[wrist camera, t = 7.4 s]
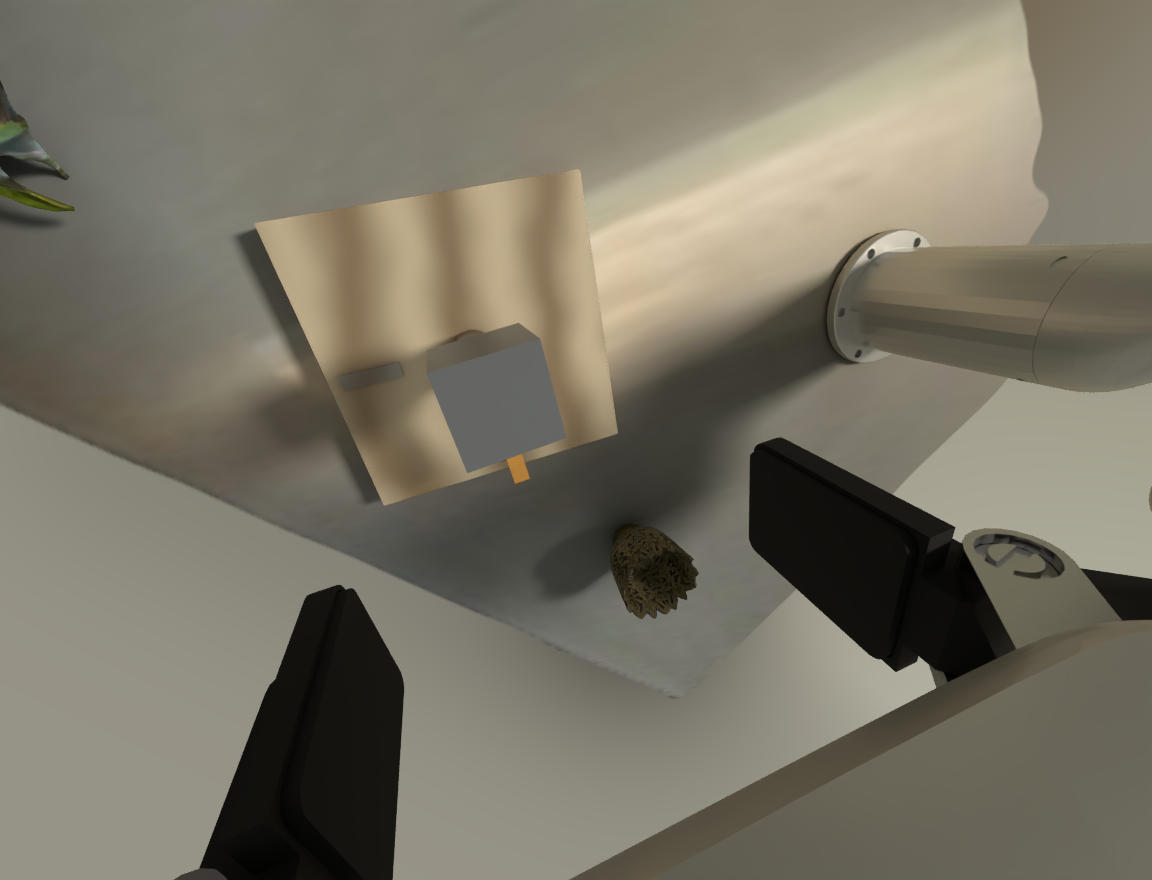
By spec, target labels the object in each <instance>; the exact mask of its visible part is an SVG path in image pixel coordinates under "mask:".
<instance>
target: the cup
mask: <svg viewBox="0 0 1152 880" xmlns="http://www.w3.org/2000/svg"><path fill="white" fill-rule="evenodd" d="M691 559H692V560H694V559H693V558H692V557H691V556H690V555H688V554H687V553H686V552H685V551H684V550H683V549H682V548H680V547H679V546H678V545H677V544H676V543H675V542H674V541H672V540H671V539H670V538H669V537H668V536H666V535H665V534H664V533H662V532H660V531H659V530H657V529H654V528H651V527H645V526H641V527H640V526H638V525H636V524H626V525H623V526H622V527H620V528H619V529H618V530H617V531H616V532H615V534H614V536H613V548H612V551H611V556H610V563H611V569H612V572H613V576H614V579H615V581H616V584H617V586H618V589H619V591H620V594H621V596H622V599H623V601H624V603H625V605H626V608H627V610H628V611H629V612H630V613H631V612H633V613H634V615H635V616H637V617H638V618H640V619H643V618H644V616H645V615H646V614H647V613H648V614H649V615H650V616H651V617H652V618H654V619H655V618H656V617H657V610H658V611H659V612H661V613H662V614H668V613H669V611H670V608H671V609H674V610H676V609H677V602H678V598H677V597H679V598H681V599H685V600H687V595H686V591H688V590H692V589H693V588H696V586H697V584H696V576H698V571H697V569H696V568H695V567H694V566H693V565H692V560H691ZM655 609H656V611H655Z"/></svg>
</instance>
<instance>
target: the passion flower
mask: <svg viewBox="0 0 1152 880" xmlns="http://www.w3.org/2000/svg"><path fill="white" fill-rule="evenodd" d="M2 155H7V156H11V157H13V158H15V159H18V160H35V161H39V162H42V163H45V164H47V165H49V166H51V167H52V168H54V169H55V170H56V171H57V173H59V174H60V175H61V176H62V177H63V178H64V179H65V180H67V179H68V178H69V176H68V175H67V174H66V173H65V172H64V171H63V170H62V169H61V168H60V166H59V165H58V164H57V163H56V162H55V161H54V160H53V159H52V158H51V157H50V156H49V155H48V154H47V153H46V152H45V151H44V150H43V149H42V148H41V146H40V145H39V144H38V143H37V142H36V141H35V140H34V139H33V137H32V135H31V132H30V130H29V128H28V125H27V122H26V121H25V119H24V118H23V117H21V116H20V115H18V114H17V113H16V112H15V110H14V109H13V108H12V106H11V105H10V103H9V101H8V98H7V95H6V93H5V90H4V88H3V86H2V83H1V81H0V156H2ZM0 195H2V196H5V197H8V198H11V199H13V200H15V201H17V202H20V203H22V204H25V205H28V206H31V207H35V208H39V209H45V210H51V211H75V210H74V207H72V206H69V205H66V204H63V203H61V202H58V201H56V200H53V199H51V198H48V197H45V196H43V195H40V194H37V193H35V192H33V191H30V190H28V189H27V188H25V187H23V186H21V185H20V184H18V183H17V182H15V181H14V180H13V179H11V178H10V177H9V176H8V175H7V174H6V173H5V172H4V171H3V170H2V169H1V167H0Z"/></svg>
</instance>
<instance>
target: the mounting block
mask: <svg viewBox="0 0 1152 880" xmlns="http://www.w3.org/2000/svg"><path fill="white" fill-rule="evenodd" d="M254 225H255V227H256V229H257V231H258V233H259V235H260V238H261V240H262V242H263V244H264V246H265V248H266V251H267V253H268V255H269V257H270V259H271V261H272V264H273V266H274V268H275V270H276V272H277V274H278V277H279V279H280V281H281V283H282V285H283V287H284V290H285V292H286V294H287V296H288V298H289V300H290V303H291V305H292V307H293V309H294V311H295V314H296V316H297V318H298V320H299V322H300V324H301V327H302V329H303V331H304V333H305V335H306V337H307V340H308V342H309V344H310V346H311V348H312V350H313V353H314V355H315V357H316V359H317V361H318V363H319V366H320V368H321V370H322V372H323V374H324V376H325V379H326V381H327V383H328V385H329V387H330V389H331V392H332V394H333V396H334V398H335V400H336V402H337V405H338V407H339V409H340V411H341V413H342V416H343V418H344V420H345V422H346V424H347V426H348V429H349V431H350V433H351V435H352V437H353V439H354V442H355V444H356V446H357V448H358V450H359V452H360V455H361V457H362V459H363V461H364V463H365V465H366V468H367V470H368V472H369V474H370V476H371V478H372V481H373V483H374V485H375V487H376V489H377V491H378V494H379V496H380V498H381V500H382V502H383V504H384V506H385V505H389V504H392V503H395V502H398V501H402V500H405V499H408V498H411V497H415V496H418V495H421V494H424V493H428V492H431V491H434V490H437V489H441V488H444V487H447V486H450V485H454V484H457V483H460V482H463V481H467V480H470V479H473V478H476V477H479V476H483V475H486V474H489V473H492V472H496V471H499V470H502V469H505V468H509V465H508V462H507V460H503V461H501V462H498V463H495V464H492V465H489V466H487V467H484V468H481V469H478V470H475V471H472V472H470V473H467V471H466V469H465V467H464V464H463V462H462V459H461V457H460V454H459V452H458V449H457V447H456V444H455V442H454V440H453V437H452V435H451V432H450V430H449V427H448V425H447V422H446V420H445V418H444V415H443V413H442V410H441V408H440V405H439V403H438V400H437V398H436V396H435V393H434V391H433V388H432V386H431V383H430V381H429V378H428V376H427V374H426V372H427V350H429V349H432V348H435V347H439V346H442V345H445V344H449V343H452V342H455V341H459V340H462V339H465V338H467V337H469V336H472V335H476V334H482V333H486V332H489V331H493V330H496V329H499V328H503V327H506V326H509V325H513V324H516V323H520V324H521V325H522V326H524V327H525V328H526V329H528V330H529V331H530V332H532V333H533V334H535V335H536V336H537V337H539V338H540V340H541V344H542V348H543V351H544V355H545V359H546V363H547V366H548V370H549V374H550V377H551V381H552V385H553V389H554V392H555V396H556V400H557V404H558V407H559V411H560V415H561V419H562V422H563V426H564V430H565V434H566V437H567V438H565V439H562V440H560V441H557V442H554V443H551V444H548V445H546V446H543V447H540V448H537V449H534V450H531V451H529V452H526V453H523V454H522V456H523V459H524V462H528V461H531V460H535V459H538V458H541V457H544V456H548V455H551V454H554V453H557V452H561V451H564V450H567V449H570V448H574V447H577V446H580V445H583V444H587V443H590V442H593V441H596V440H599V439H603V438H606V437H609V436H612V435H616V434H618V430H617V423H616V416H615V409H614V402H613V395H612V388H611V382H610V375H609V368H608V361H607V354H606V347H605V340H604V333H603V326H602V319H601V312H600V305H599V298H598V291H597V284H596V277H595V271H594V264H593V257H592V250H591V243H590V236H589V229H588V222H587V215H586V208H585V201H584V194H583V187H582V180H581V173H580V169H578V170H572V171H566V172H560V173H554V174H548V175H542V176H536V177H530V178H524V179H518V180H512V181H506V182H500V183H494V184H488V185H481V186H475V187H469V188H463V189H457V190H451V191H445V192H439V193H433V194H427V195H421V196H415V197H409V198H403V199H397V200H391V201H385V202H379V203H373V204H367V205H361V206H355V207H349V208H343V209H337V210H331V211H325V212H319V213H313V214H307V215H301V216H295V217H289V218H283V219H277V220H271V221H265V222H259V223H254Z"/></svg>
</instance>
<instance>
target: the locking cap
mask: <svg viewBox="0 0 1152 880" xmlns="http://www.w3.org/2000/svg"><path fill="white" fill-rule="evenodd" d="M426 374H427V376H428V378H429V381H430V383H431V386H432V388H433V391H434V393H435V396H436V398H437V400H438V403H439V405H440V408H441V410H442V413H443V415H444V418H445V420H446V422H447V425H448V427H449V430H450V432H451V435H452V437H453V440H454V442H455V444H456V447H457V449H458V452H459V454H460V457H461V459H462V462H463V464H464V467H465V469H466V471H467V473H470V472H472V471H475V470H478V469H481V468H484V467H487V466H489V465H492V464H495V463H498V462H501V461H503V460H507V462H508V465H509V468H510V471H511V474H512V477H513V479H514V482H515V484H516V483H519V482H522V481H525V480H527V479H530V477H529V474H528V471H527V468H526V465H525V462H524V459H523V456H522V454H523V453H526V452H529V451H531V450H534V449H537V448H540V447H543V446H546V445H548V444H551V443H554V442H557V441H560V440H562V439H565V438H567V437H566V434H565V430H564V426H563V422H562V419H561V415H560V411H559V407H558V404H557V400H556V396H555V392H554V389H553V385H552V381H551V377H550V374H549V370H548V366H547V363H546V359H545V355H544V351H543V348H542V344H541V340H540V338H539V337H537V336H536V335H535V334H533V333H532V332H530V331H529V330H528V329H526V328H525V327H524V326H522V325H521V324H520V323H516V324H513V325H509V326H506V327H503V328H499V329H496V330H493V331H489V332H486V333H482V334H476V335H472V336H469V337H467V338H465V339H462V340H459V341H455V342H452V343H449V344H445V345H442V346H439V347H435V348H432V349H429V350H427V372H426Z"/></svg>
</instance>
